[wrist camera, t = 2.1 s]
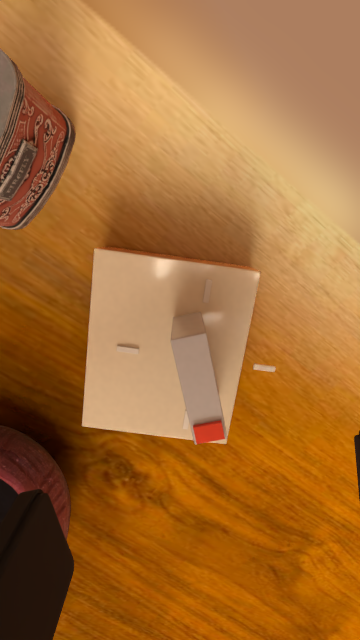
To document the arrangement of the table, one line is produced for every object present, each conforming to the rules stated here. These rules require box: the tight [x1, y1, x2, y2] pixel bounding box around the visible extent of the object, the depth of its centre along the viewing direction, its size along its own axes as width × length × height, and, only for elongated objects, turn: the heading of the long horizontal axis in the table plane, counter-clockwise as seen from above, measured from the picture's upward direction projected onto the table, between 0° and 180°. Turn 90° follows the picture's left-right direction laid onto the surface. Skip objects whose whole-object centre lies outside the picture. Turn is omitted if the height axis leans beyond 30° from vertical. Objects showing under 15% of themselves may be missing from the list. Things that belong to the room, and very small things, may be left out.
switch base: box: [82, 246, 276, 444], centre depth 22 cm, size 12×12×3 cm
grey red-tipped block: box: [170, 312, 228, 444], centre depth 19 cm, size 6×2×5 cm, turn 12°
